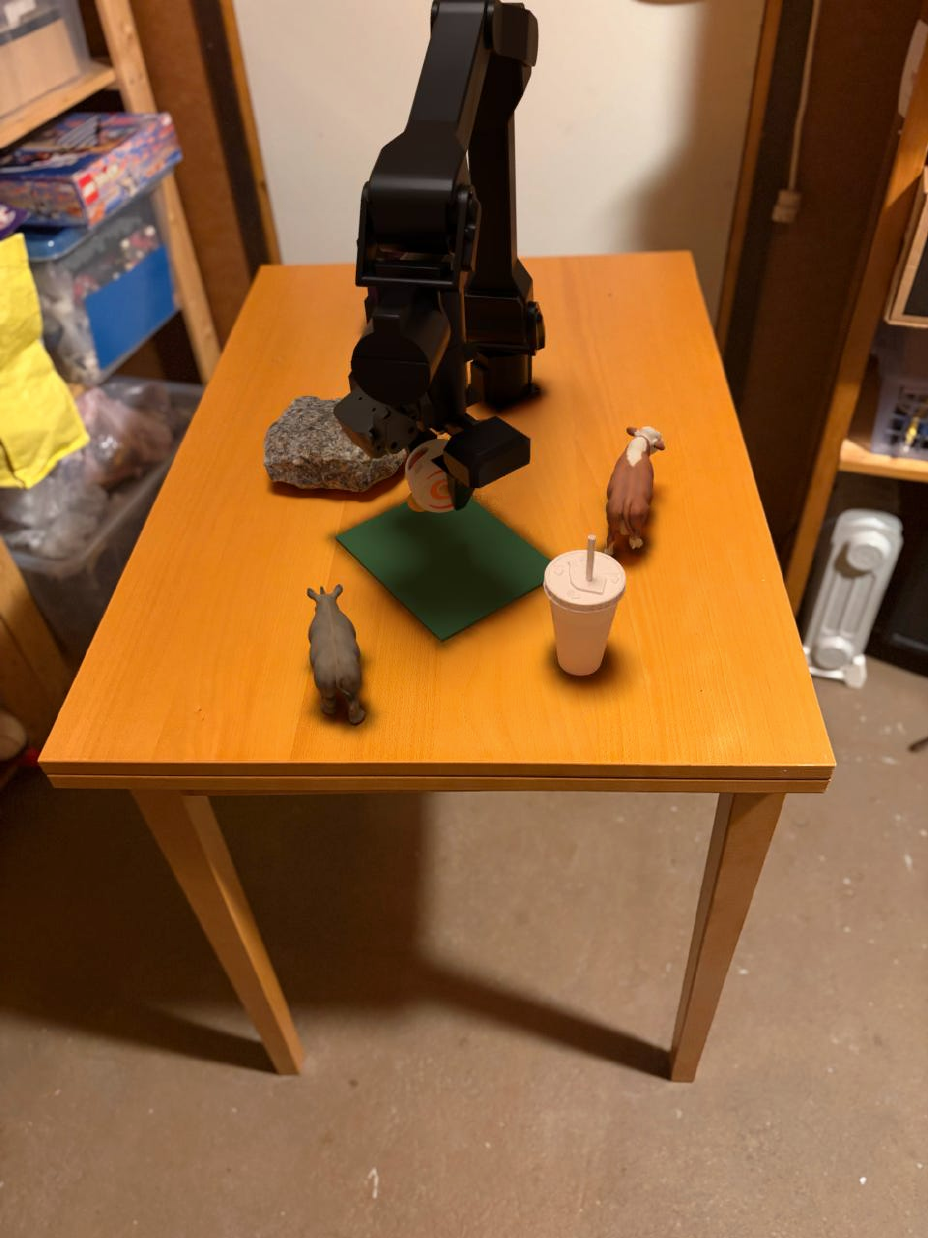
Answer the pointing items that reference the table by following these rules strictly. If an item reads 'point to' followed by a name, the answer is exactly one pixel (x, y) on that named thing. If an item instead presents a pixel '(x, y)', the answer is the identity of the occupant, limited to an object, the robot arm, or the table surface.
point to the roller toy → (428, 479)
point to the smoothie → (583, 605)
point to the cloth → (447, 563)
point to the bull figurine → (632, 487)
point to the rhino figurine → (334, 654)
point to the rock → (321, 450)
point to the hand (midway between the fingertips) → (441, 493)
